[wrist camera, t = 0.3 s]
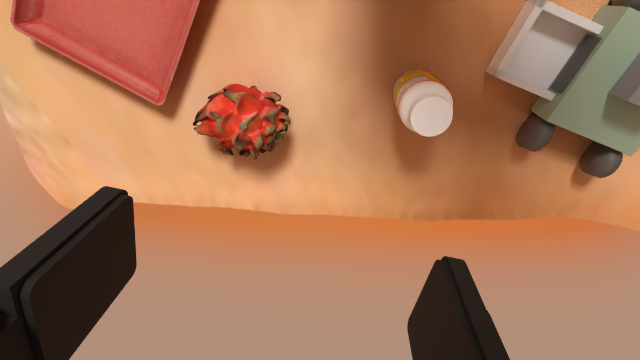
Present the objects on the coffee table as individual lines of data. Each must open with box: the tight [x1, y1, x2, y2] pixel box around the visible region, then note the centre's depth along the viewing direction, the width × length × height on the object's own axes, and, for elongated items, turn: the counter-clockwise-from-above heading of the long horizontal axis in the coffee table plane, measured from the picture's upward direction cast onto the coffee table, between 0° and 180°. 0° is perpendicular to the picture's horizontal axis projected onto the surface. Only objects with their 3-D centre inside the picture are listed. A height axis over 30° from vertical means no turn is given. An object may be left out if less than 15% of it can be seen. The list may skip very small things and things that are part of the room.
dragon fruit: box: [193, 84, 290, 159], centre depth 42 cm, size 8×8×12 cm
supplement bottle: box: [393, 69, 453, 137], centre depth 38 cm, size 5×5×10 cm
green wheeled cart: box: [485, 0, 640, 178], centre depth 37 cm, size 20×18×7 cm
